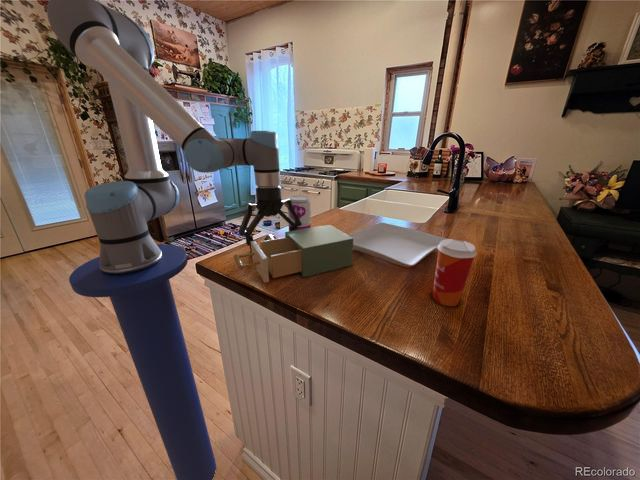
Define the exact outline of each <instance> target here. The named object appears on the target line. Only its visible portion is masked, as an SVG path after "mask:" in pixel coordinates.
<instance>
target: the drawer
mask: <svg viewBox="0 0 640 480" xmlns="http://www.w3.org/2000/svg"><path fill="white" fill-rule="evenodd" d="M251 250H252V253H251V252H249V253H244V254H236V253H235V254H233V260H234V262H235V264H236V267H237V268H238V270H239V271H242V270H244V269H245V268H249V267H255V269H256V270H257V272H258V274H259V275H260V276H259V277H261V280H262V281H263V282H264V283H269V282H270V276H271V277H272V279H275V278H280V277H284V276H288V275H293V274H297V273H300V272H301V271H303V267H302V249H300V248H299V247H298V246H297V245H296V244H295V243H294V242H293V241H292V240H291V239H290V238H289V237H285V236H284V237H276V239H271V240H266V241H264V240H261V241H259V244H258V243H257V242H256V240H253V241H251ZM247 257H251V258H252V262H250V263H245V264H243V261H242V258H247ZM269 275H270V276H269Z"/></svg>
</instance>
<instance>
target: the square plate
mask: <svg viewBox="0 0 640 480" xmlns="http://www.w3.org/2000/svg"><path fill="white" fill-rule="evenodd" d="M347 235H348V236H350V237H352V238H353V250H356V251H358V252H361V253H363V254H366V255H369V256H372V257H375V258H377V259H380V260H383V261H385V262H388V263H391V264H393V265H397V266H401V267H403V268H406V269H407V268H409V269H410V268H412V267H414V266H416V265H417V264H418V263H419V262H421V261H422V260H424V258H426V257H428V256H429V255H430V254H432V253H433V252H435V251H437V250H438V248H437V246H438V245H439V244H440V242H441V241H442V240H445V239H447V238H446V237H442V236H439V235H435V234H431V233H428V232H424V231H420V230H416V229H413V228H409V227H405V226H401V225H395V224H391V223H387V222H382V221H381V222H378V223H375V224H373V225H370V226H366V227H365V228H362V229H359V230H356V231H353V232H351V233H348V234H347Z"/></svg>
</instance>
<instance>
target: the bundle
mask: <svg viewBox="0 0 640 480" xmlns="http://www.w3.org/2000/svg"><path fill="white" fill-rule="evenodd" d="M271 239H277V237H276V236H275V235H274V234H273V235H272V234H266V235H265V237H264V239H263V241H266V240H271Z"/></svg>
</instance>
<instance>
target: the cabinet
mask: <svg viewBox="0 0 640 480" xmlns="http://www.w3.org/2000/svg"><path fill="white" fill-rule="evenodd" d="M348 235H349V234H346V233H345V232H343V231H341V230H340V229H338V228H336V227H335V226H333V225H331V224H326V225H318V226H311V228H306V229H300V230H294V231H289V230H288V231H285V232H284V237H289V238H290V239H291V240H292V241H293V242H294V243H295V244H296V245H297V246H298V247H299V248H300V249H302V267H303V271H301V272H299V273H300V275H301V276H302V277H303V278H307V277H311V276H314V275H319V274H322V273H326V272H329V271H333V270H338V269H342V268H346V267H350V266H352V265H353V250H354V249H353V238H352V237H350V236H348Z"/></svg>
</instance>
